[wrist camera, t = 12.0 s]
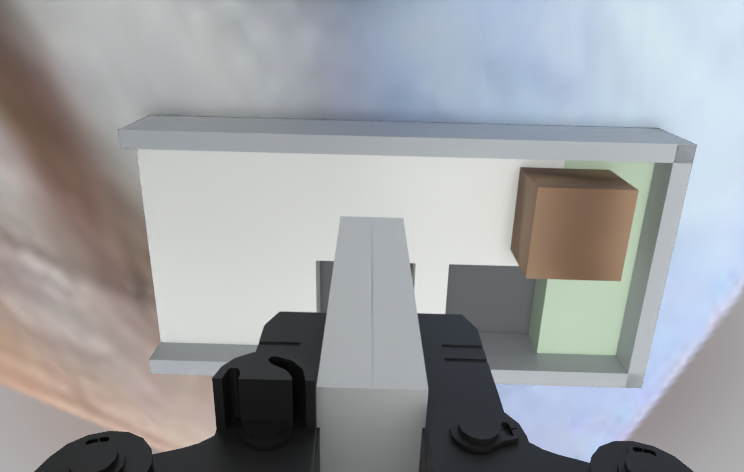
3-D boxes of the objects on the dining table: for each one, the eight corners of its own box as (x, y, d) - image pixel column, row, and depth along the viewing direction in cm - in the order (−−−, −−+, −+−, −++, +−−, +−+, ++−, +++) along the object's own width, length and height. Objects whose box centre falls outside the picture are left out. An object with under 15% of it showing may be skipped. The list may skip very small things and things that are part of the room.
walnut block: (510, 249, 34) (525, 278, 31) (520, 167, 33) (538, 187, 29) (594, 251, 34) (620, 281, 31) (609, 169, 33) (638, 190, 29)
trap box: (175, 335, 40) (151, 373, 36) (150, 115, 34) (117, 129, 30) (614, 348, 40) (641, 388, 35) (658, 128, 34) (696, 144, 30)
